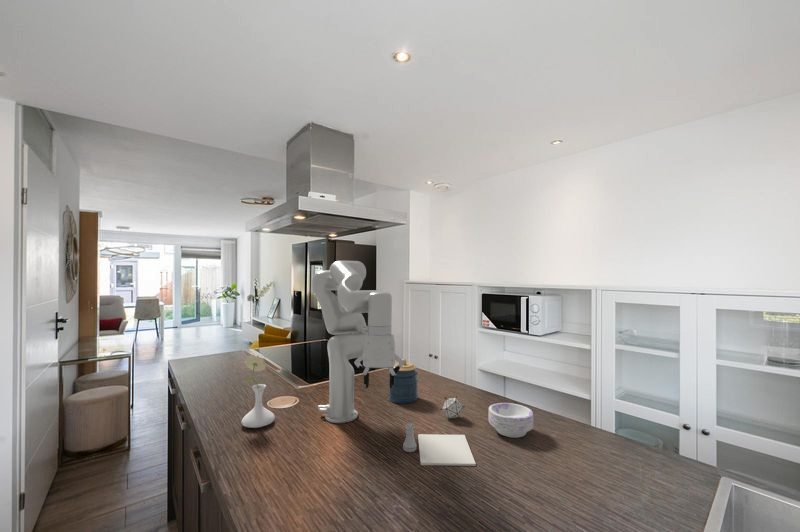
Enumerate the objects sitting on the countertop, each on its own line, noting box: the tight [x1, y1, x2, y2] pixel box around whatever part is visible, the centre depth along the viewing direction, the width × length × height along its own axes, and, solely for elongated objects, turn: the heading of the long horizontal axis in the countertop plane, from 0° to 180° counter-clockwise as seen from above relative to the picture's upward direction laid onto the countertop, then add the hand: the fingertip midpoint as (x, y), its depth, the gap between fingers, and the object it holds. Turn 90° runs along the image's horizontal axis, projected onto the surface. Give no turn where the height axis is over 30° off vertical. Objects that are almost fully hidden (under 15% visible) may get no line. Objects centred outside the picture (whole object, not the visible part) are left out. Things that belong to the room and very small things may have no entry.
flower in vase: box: [241, 354, 276, 429], centre depth 127 cm, size 13×11×25 cm
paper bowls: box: [488, 402, 534, 439], centre depth 122 cm, size 15×15×8 cm
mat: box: [417, 433, 477, 467], centre depth 110 cm, size 16×18×1 cm
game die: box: [439, 395, 466, 421], centre depth 134 cm, size 9×8×10 cm
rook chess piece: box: [402, 422, 418, 453], centre depth 110 cm, size 4×4×8 cm
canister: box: [388, 358, 419, 405], centre depth 154 cm, size 13×13×18 cm
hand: (379, 386), depth 110 cm, fingers open, 6 cm apart
